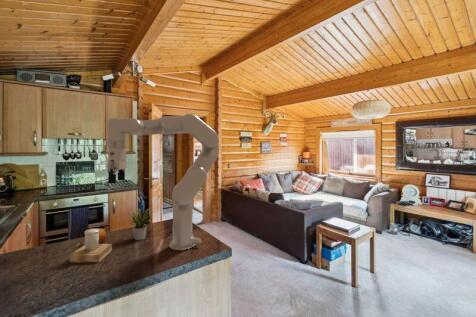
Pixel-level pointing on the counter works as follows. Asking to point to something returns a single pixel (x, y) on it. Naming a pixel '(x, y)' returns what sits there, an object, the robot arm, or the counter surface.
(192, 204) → the robot arm
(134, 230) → the house plant
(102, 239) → the fruit
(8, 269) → the counter surface
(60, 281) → the counter surface
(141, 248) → the counter surface
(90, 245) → the canister
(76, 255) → the base
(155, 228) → the counter surface
